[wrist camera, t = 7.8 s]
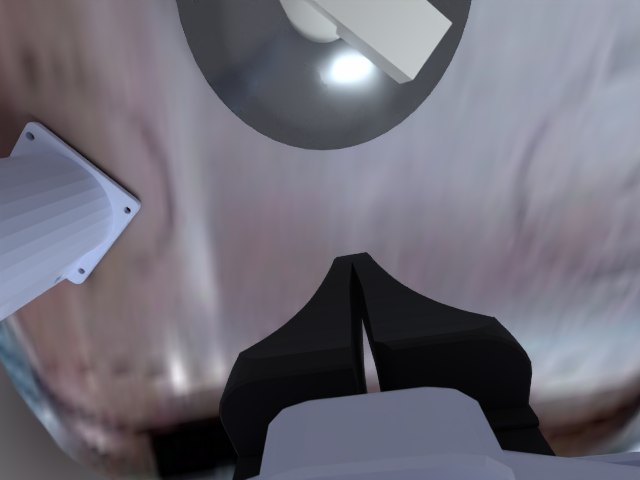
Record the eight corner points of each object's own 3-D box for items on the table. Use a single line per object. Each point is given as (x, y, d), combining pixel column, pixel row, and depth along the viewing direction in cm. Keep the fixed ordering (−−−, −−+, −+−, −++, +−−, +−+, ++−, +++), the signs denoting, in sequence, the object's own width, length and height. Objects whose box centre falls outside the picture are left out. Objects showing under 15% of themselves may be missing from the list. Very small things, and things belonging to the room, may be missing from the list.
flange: (323, 193, 21) (322, 200, 19) (133, 8, 17) (113, -2, 15) (518, 2, 16) (538, -8, 15) (322, -316, 12) (321, -377, 11)
